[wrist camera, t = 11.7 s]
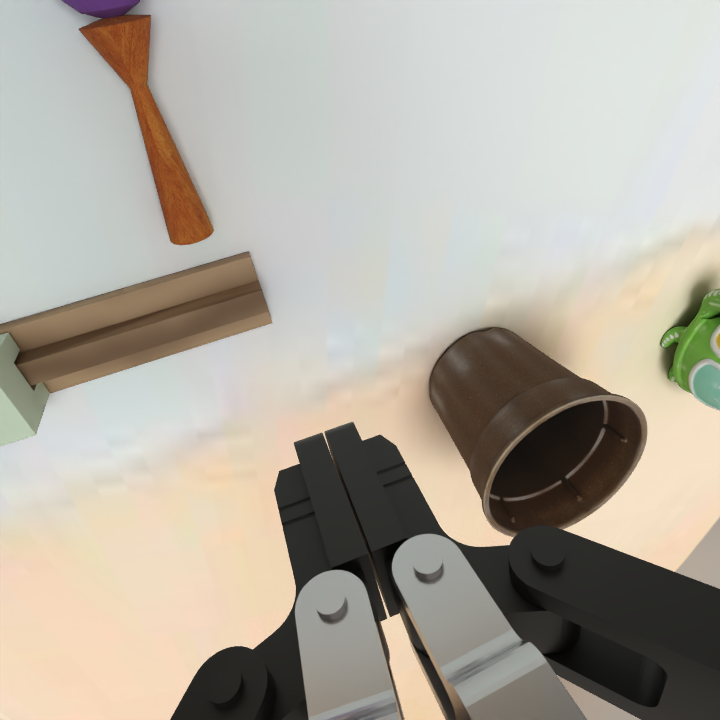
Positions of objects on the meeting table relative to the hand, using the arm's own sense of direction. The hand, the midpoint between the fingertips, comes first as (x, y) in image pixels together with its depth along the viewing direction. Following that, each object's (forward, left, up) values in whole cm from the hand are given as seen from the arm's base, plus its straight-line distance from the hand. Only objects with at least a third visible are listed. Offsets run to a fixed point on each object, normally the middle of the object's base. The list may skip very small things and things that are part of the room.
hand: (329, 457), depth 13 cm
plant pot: (+28, +20, -33) cm, 48 cm away
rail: (+10, -13, -33) cm, 37 cm away
